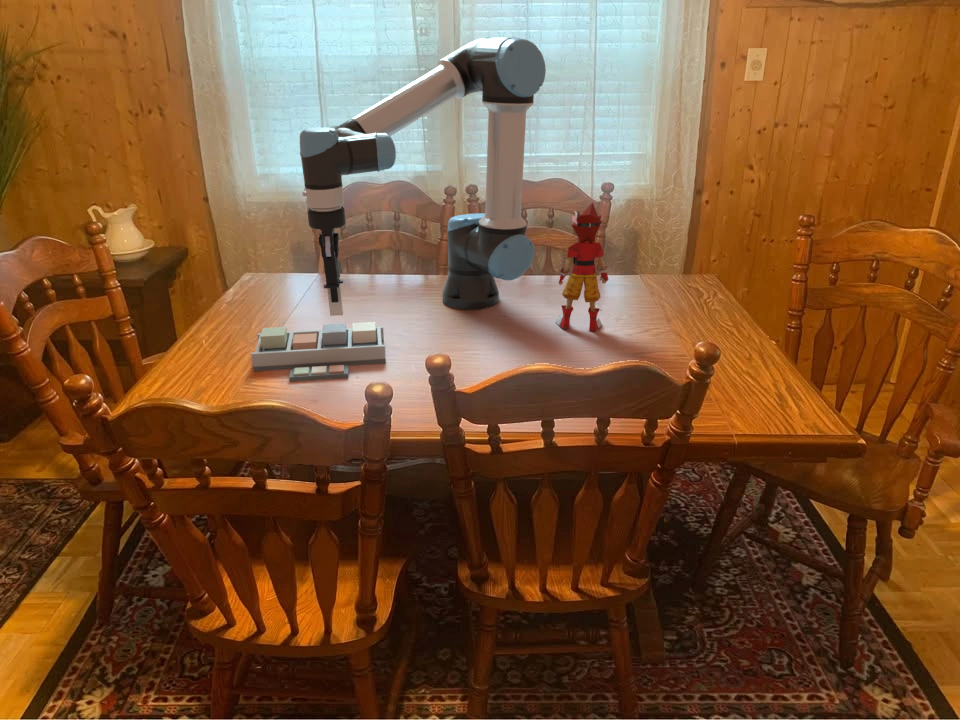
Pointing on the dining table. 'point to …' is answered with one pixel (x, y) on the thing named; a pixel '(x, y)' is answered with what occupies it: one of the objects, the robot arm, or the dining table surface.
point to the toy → (583, 268)
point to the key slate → (334, 334)
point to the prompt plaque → (319, 373)
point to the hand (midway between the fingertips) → (336, 314)
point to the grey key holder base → (319, 353)
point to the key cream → (364, 332)
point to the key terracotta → (305, 341)
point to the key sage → (274, 337)
